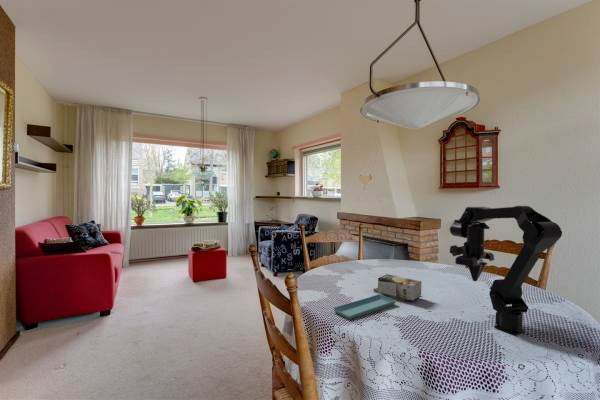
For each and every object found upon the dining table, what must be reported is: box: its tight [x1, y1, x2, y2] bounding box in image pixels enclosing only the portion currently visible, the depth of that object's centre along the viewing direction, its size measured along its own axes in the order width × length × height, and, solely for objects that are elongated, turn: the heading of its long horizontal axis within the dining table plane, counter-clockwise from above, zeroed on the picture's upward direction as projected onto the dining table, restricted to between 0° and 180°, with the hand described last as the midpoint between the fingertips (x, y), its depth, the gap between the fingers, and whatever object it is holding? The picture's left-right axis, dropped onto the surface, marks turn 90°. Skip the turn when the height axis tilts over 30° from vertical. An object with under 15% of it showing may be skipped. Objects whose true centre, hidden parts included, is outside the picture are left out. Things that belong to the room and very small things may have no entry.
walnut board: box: [373, 287, 410, 302], centre depth 133 cm, size 16×12×1 cm
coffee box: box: [377, 273, 422, 301], centre depth 129 cm, size 9×6×16 cm
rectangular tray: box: [332, 293, 397, 320], centre depth 116 cm, size 26×9×2 cm, turn 124°
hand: (474, 281), depth 112 cm, fingers closed
